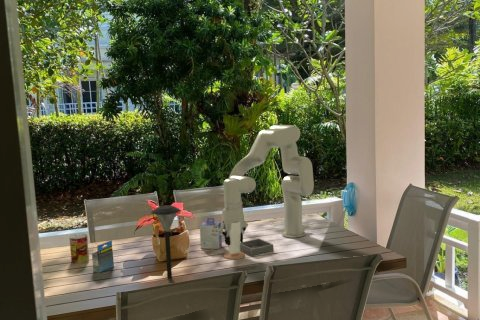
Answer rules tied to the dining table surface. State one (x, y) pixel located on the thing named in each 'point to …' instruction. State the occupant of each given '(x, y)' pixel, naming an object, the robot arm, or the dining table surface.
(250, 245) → the bin
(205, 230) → the ink cartridge box
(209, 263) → the dining table surface
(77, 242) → the canned food
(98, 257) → the label tape cartridge
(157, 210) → the solar garden light
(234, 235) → the drinking glass
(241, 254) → the coaster
